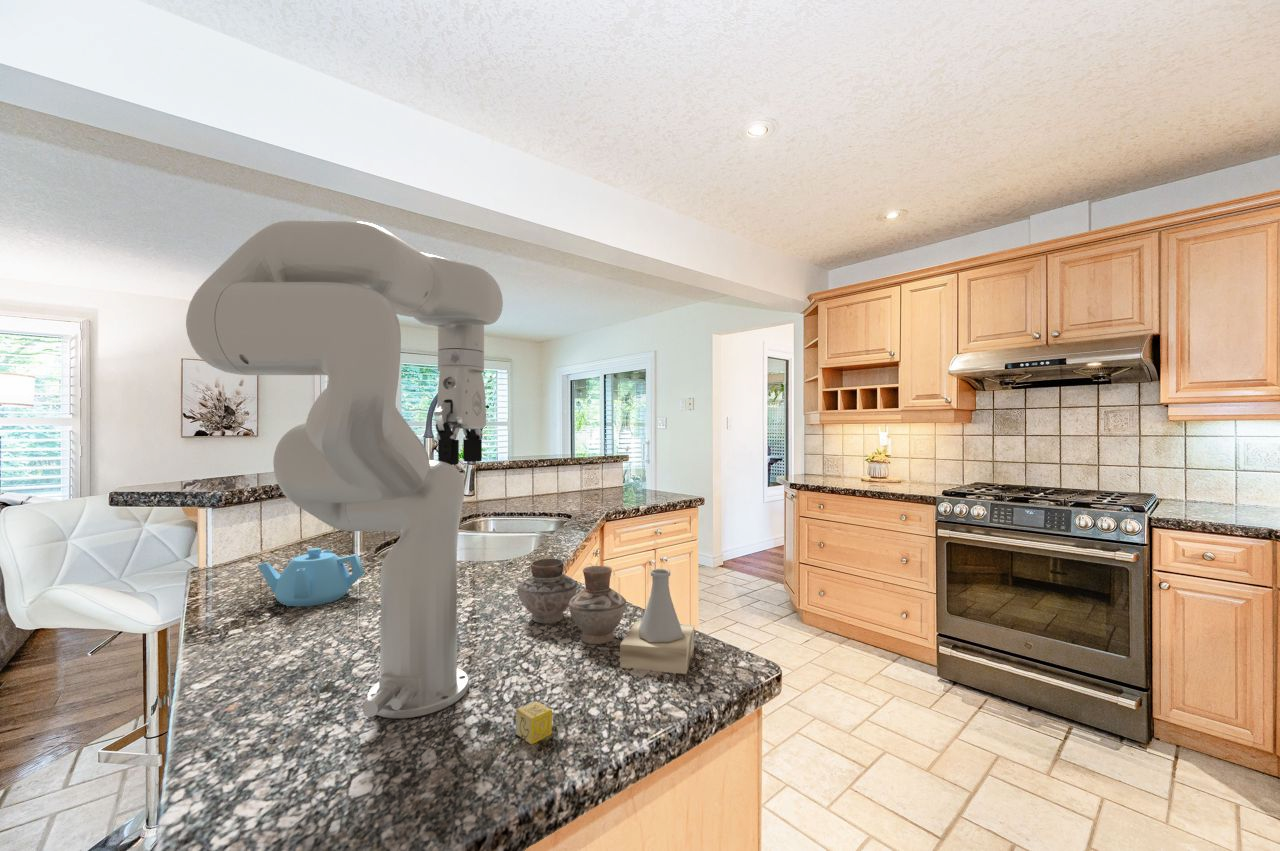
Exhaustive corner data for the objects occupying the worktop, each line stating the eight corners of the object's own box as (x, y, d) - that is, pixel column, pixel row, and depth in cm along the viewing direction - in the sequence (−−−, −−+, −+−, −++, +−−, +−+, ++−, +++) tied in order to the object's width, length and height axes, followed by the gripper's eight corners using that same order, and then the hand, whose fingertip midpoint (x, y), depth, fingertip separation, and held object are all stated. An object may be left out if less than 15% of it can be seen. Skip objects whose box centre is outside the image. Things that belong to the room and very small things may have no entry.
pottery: (592, 657, 82) (592, 581, 82) (505, 619, 99) (505, 556, 99) (641, 636, 90) (641, 567, 90) (553, 604, 107) (553, 546, 107)
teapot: (294, 615, 101) (294, 560, 102) (255, 603, 109) (255, 552, 109) (368, 594, 115) (368, 545, 115) (329, 585, 122) (329, 539, 122)
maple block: (686, 677, 76) (686, 649, 76) (620, 671, 78) (620, 644, 78) (694, 649, 85) (694, 625, 85) (635, 645, 88) (635, 621, 88)
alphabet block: (536, 724, 63) (536, 699, 63) (552, 734, 61) (552, 708, 61) (515, 735, 60) (515, 709, 61) (531, 746, 58) (531, 718, 58)
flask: (631, 629, 84) (631, 567, 84) (673, 624, 86) (673, 564, 86) (646, 647, 77) (646, 579, 77) (691, 640, 79) (690, 575, 79)
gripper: (461, 355, 80) (461, 465, 80) (499, 369, 97) (499, 460, 97) (414, 355, 81) (414, 466, 80) (461, 369, 98) (461, 460, 97)
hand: (461, 462), depth 89 cm, fingers open, 9 cm apart
